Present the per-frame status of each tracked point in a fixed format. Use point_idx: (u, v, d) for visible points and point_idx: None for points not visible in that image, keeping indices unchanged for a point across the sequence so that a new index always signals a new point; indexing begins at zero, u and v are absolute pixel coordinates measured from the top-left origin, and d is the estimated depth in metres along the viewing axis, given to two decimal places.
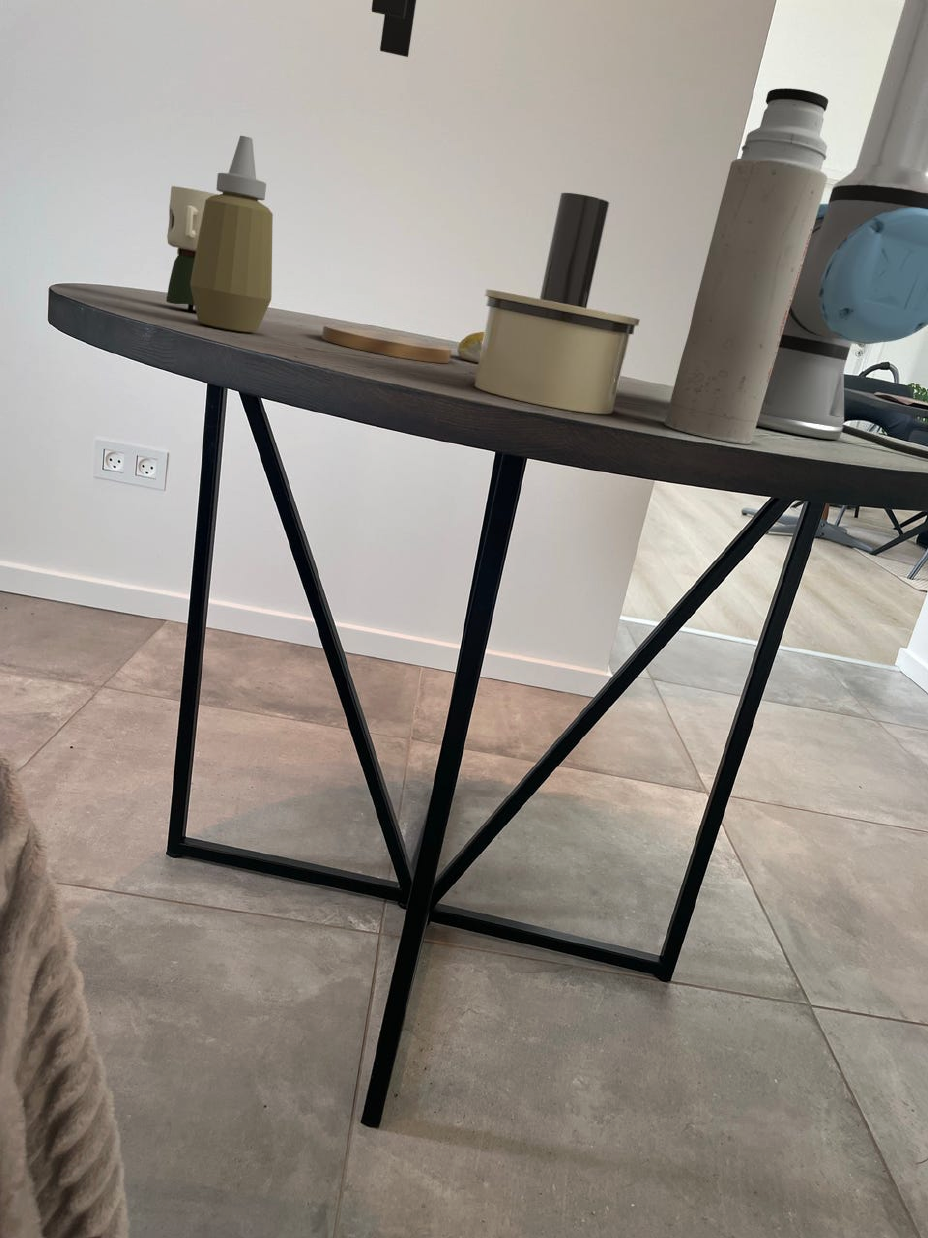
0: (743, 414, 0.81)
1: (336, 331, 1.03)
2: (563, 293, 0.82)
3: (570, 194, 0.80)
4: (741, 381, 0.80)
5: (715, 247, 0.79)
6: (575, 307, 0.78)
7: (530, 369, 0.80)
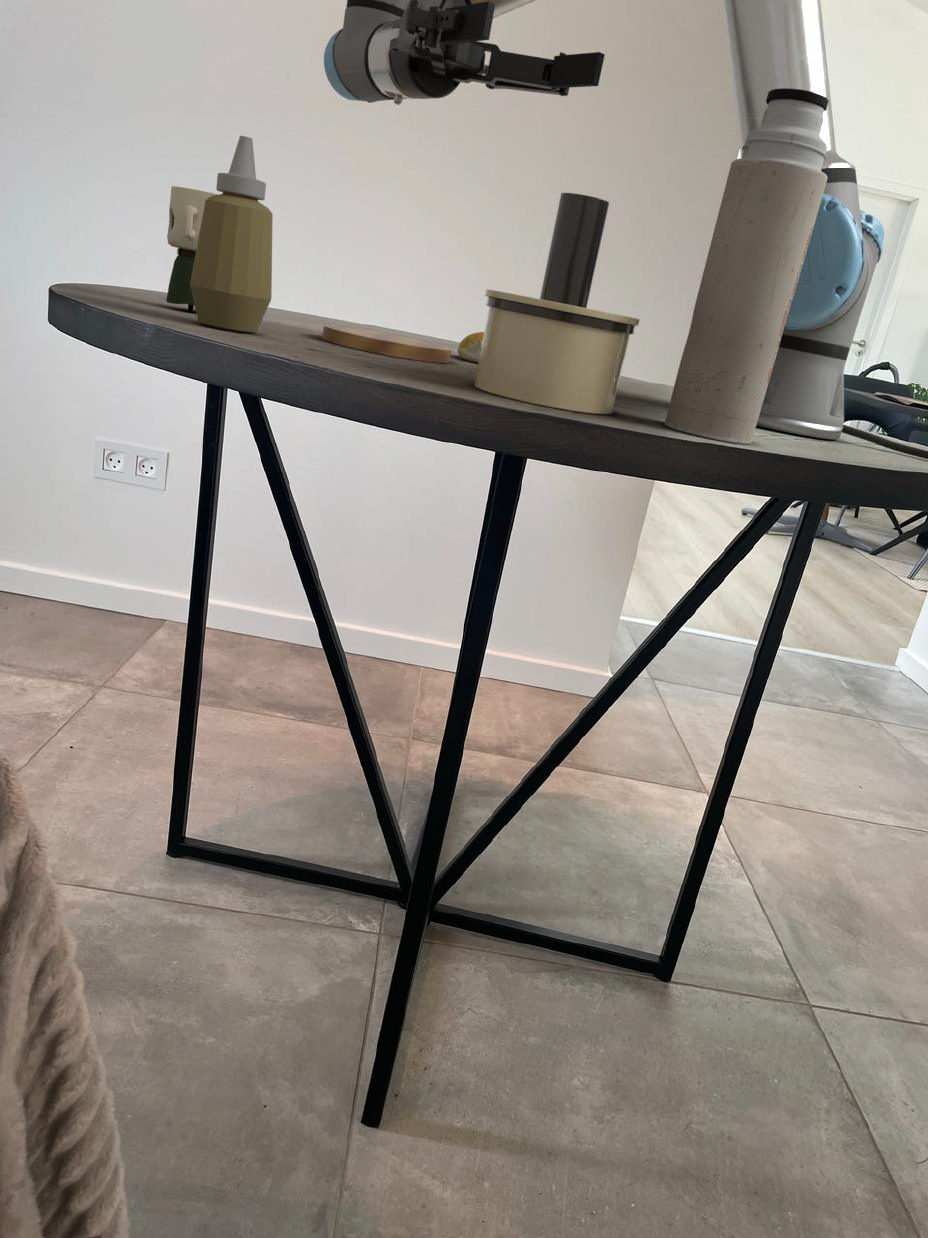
0: (743, 414, 0.81)
1: (336, 331, 1.03)
2: (563, 293, 0.82)
3: (570, 194, 0.80)
4: (741, 381, 0.80)
5: (715, 247, 0.79)
6: (575, 307, 0.78)
7: (530, 369, 0.80)
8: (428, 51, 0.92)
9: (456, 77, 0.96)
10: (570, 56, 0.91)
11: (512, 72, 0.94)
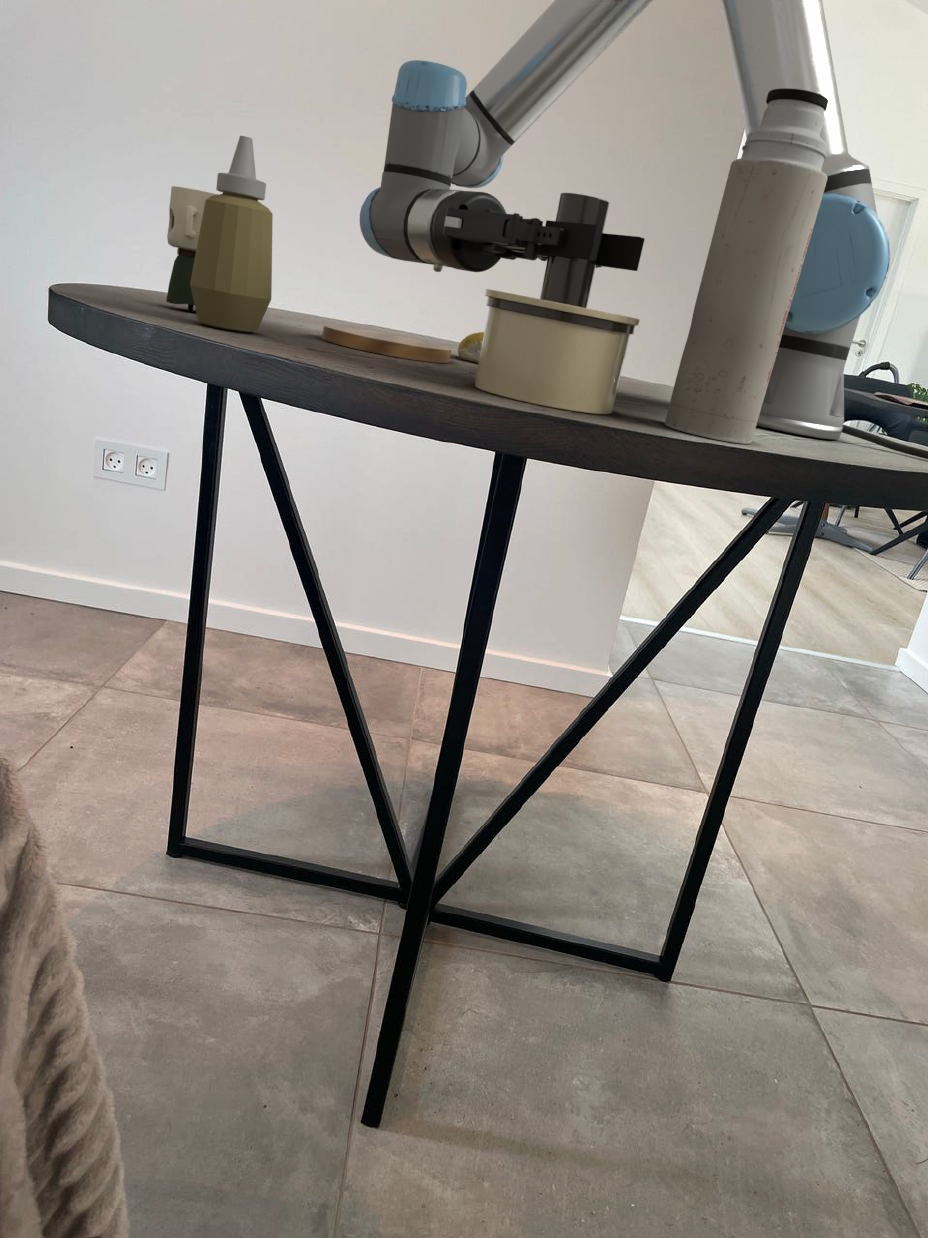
0: (743, 414, 0.81)
1: (336, 331, 1.03)
2: (563, 293, 0.82)
3: (570, 194, 0.80)
4: (741, 381, 0.80)
5: (715, 247, 0.79)
6: (575, 307, 0.78)
7: (530, 369, 0.80)
8: None
9: (499, 255, 0.92)
10: (606, 235, 0.83)
11: None
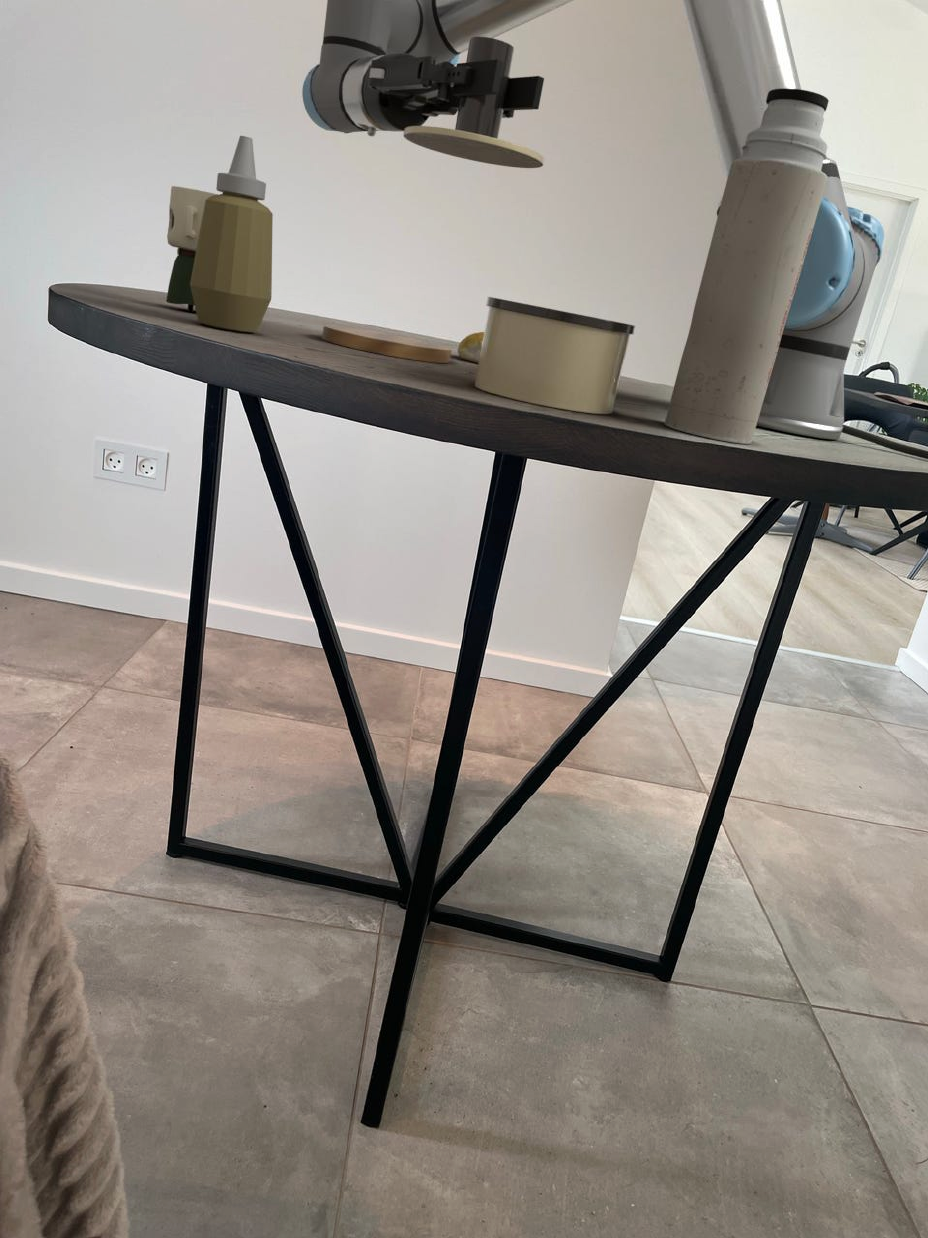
0: (743, 414, 0.81)
1: (336, 331, 1.03)
2: (472, 130, 0.91)
3: (477, 37, 0.89)
4: (741, 381, 0.80)
5: (715, 247, 0.79)
6: (479, 135, 0.87)
7: (530, 369, 0.80)
8: None
9: (422, 112, 1.01)
10: (512, 79, 0.92)
11: None
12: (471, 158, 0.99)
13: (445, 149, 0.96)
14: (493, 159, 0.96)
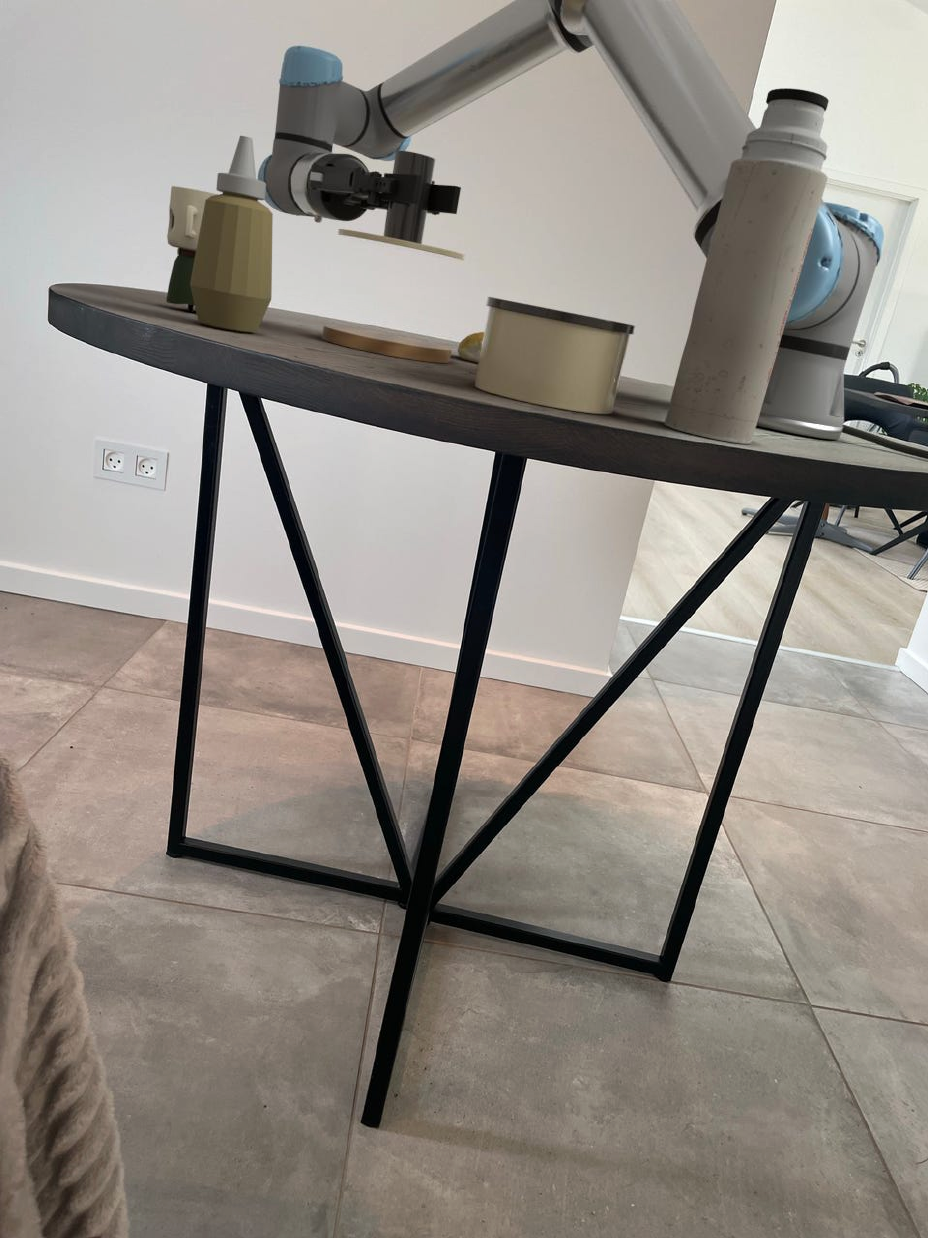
0: (743, 414, 0.81)
1: (336, 331, 1.03)
2: (398, 231, 1.02)
3: (401, 151, 1.00)
4: (741, 381, 0.80)
5: (715, 247, 0.79)
6: (401, 240, 0.98)
7: (530, 369, 0.80)
8: None
9: (360, 206, 1.12)
10: (434, 186, 1.03)
11: None
12: (403, 249, 1.10)
13: None
14: (421, 252, 1.08)
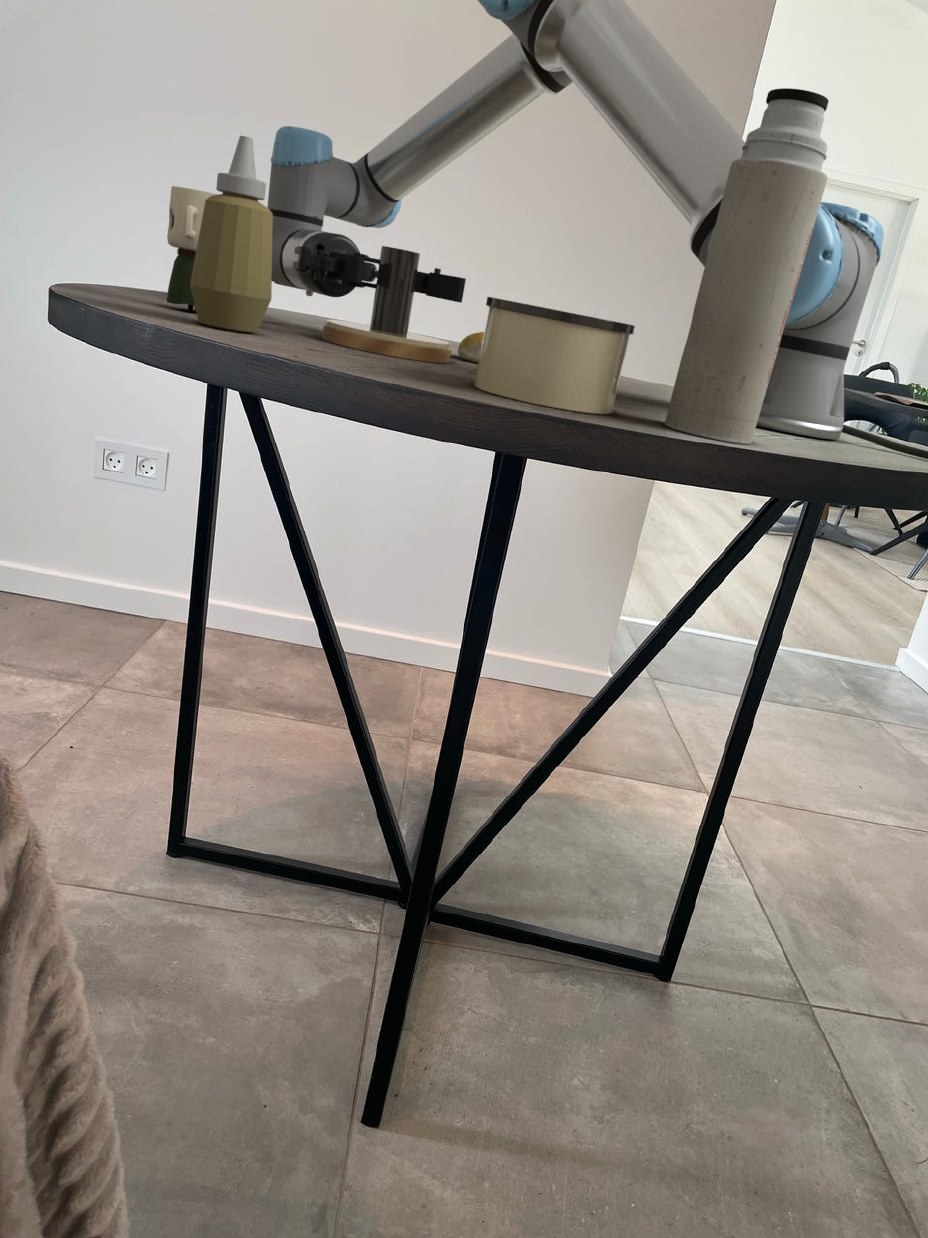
0: (743, 414, 0.81)
1: (336, 331, 1.03)
2: (384, 323, 1.05)
3: (386, 247, 1.03)
4: (741, 381, 0.80)
5: (715, 247, 0.79)
6: (386, 335, 1.01)
7: (530, 369, 0.80)
8: None
9: (352, 284, 1.15)
10: (440, 275, 1.10)
11: None
12: None
13: None
14: None
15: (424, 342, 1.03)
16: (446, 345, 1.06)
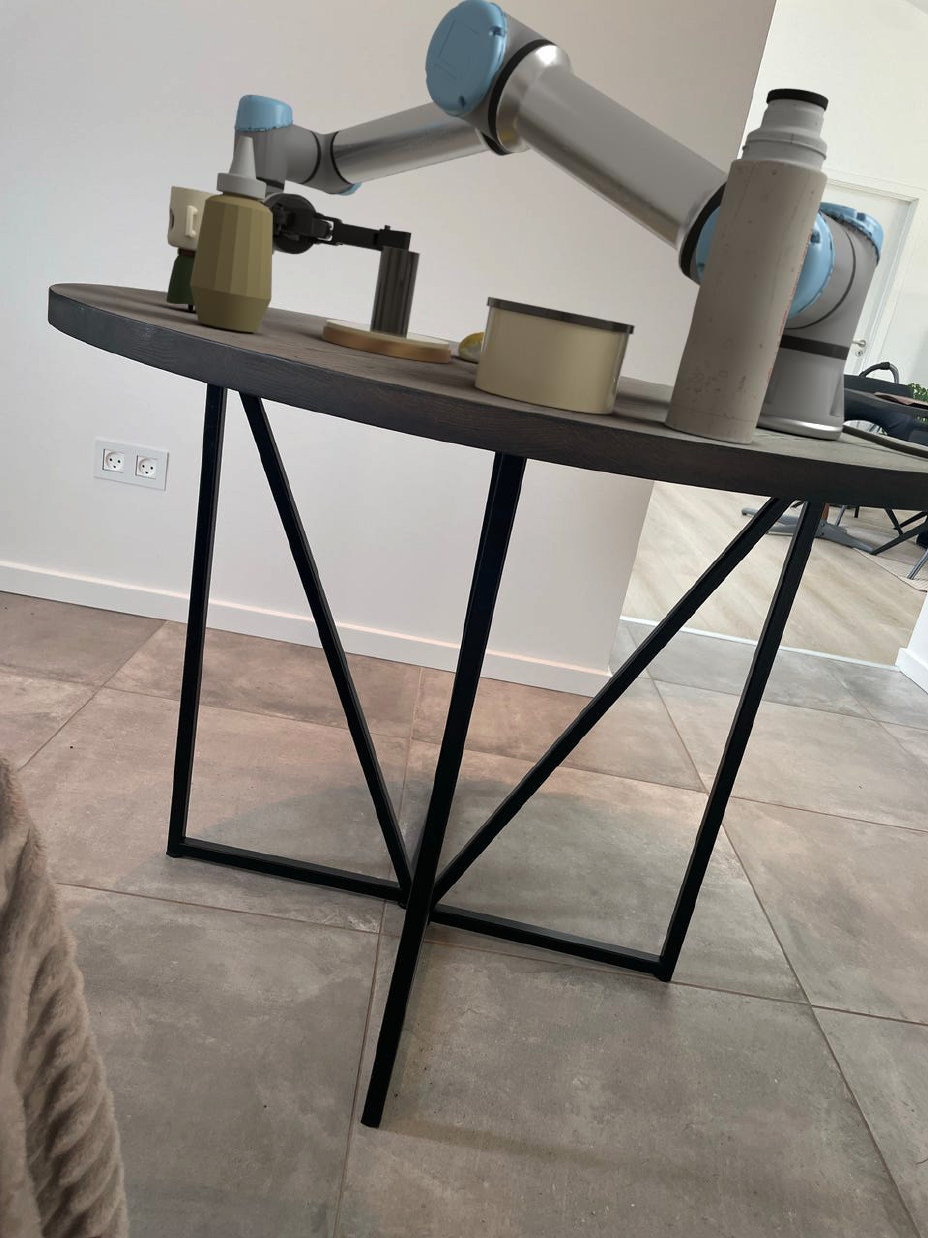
0: (743, 414, 0.81)
1: (336, 331, 1.03)
2: (384, 323, 1.05)
3: (386, 247, 1.03)
4: (741, 381, 0.80)
5: (715, 247, 0.79)
6: (386, 335, 1.01)
7: (530, 369, 0.80)
8: None
9: (308, 241, 1.23)
10: (389, 231, 1.18)
11: (350, 239, 1.22)
12: None
13: None
14: None
15: (424, 342, 1.03)
16: (446, 345, 1.06)
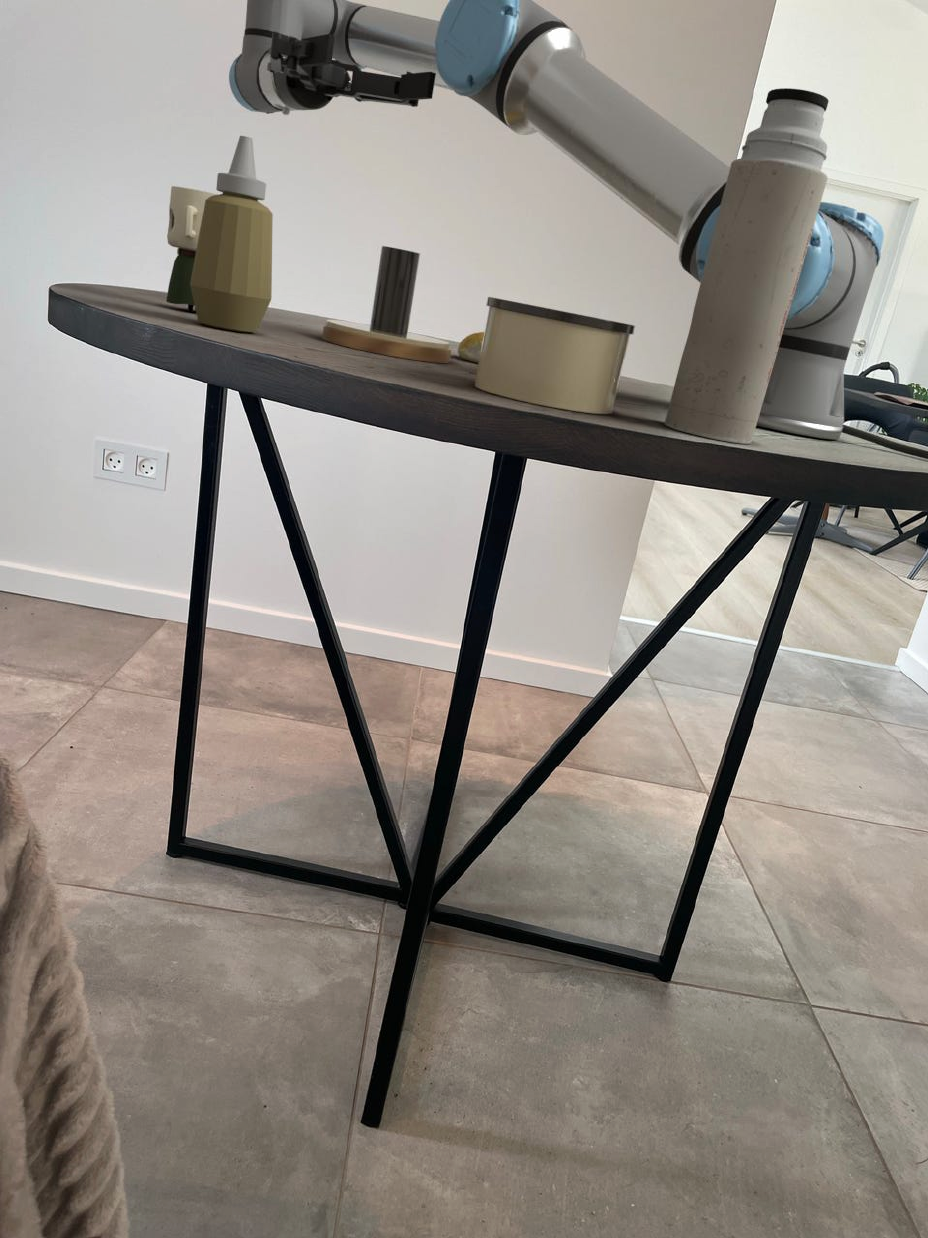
0: (743, 414, 0.81)
1: (336, 331, 1.03)
2: (384, 323, 1.05)
3: (386, 247, 1.03)
4: (741, 381, 0.80)
5: (715, 247, 0.79)
6: (386, 335, 1.01)
7: (530, 369, 0.80)
8: None
9: (326, 92, 1.17)
10: (412, 74, 1.12)
11: (370, 88, 1.16)
12: None
13: None
14: None
15: (424, 342, 1.03)
16: (446, 345, 1.06)
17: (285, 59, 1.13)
